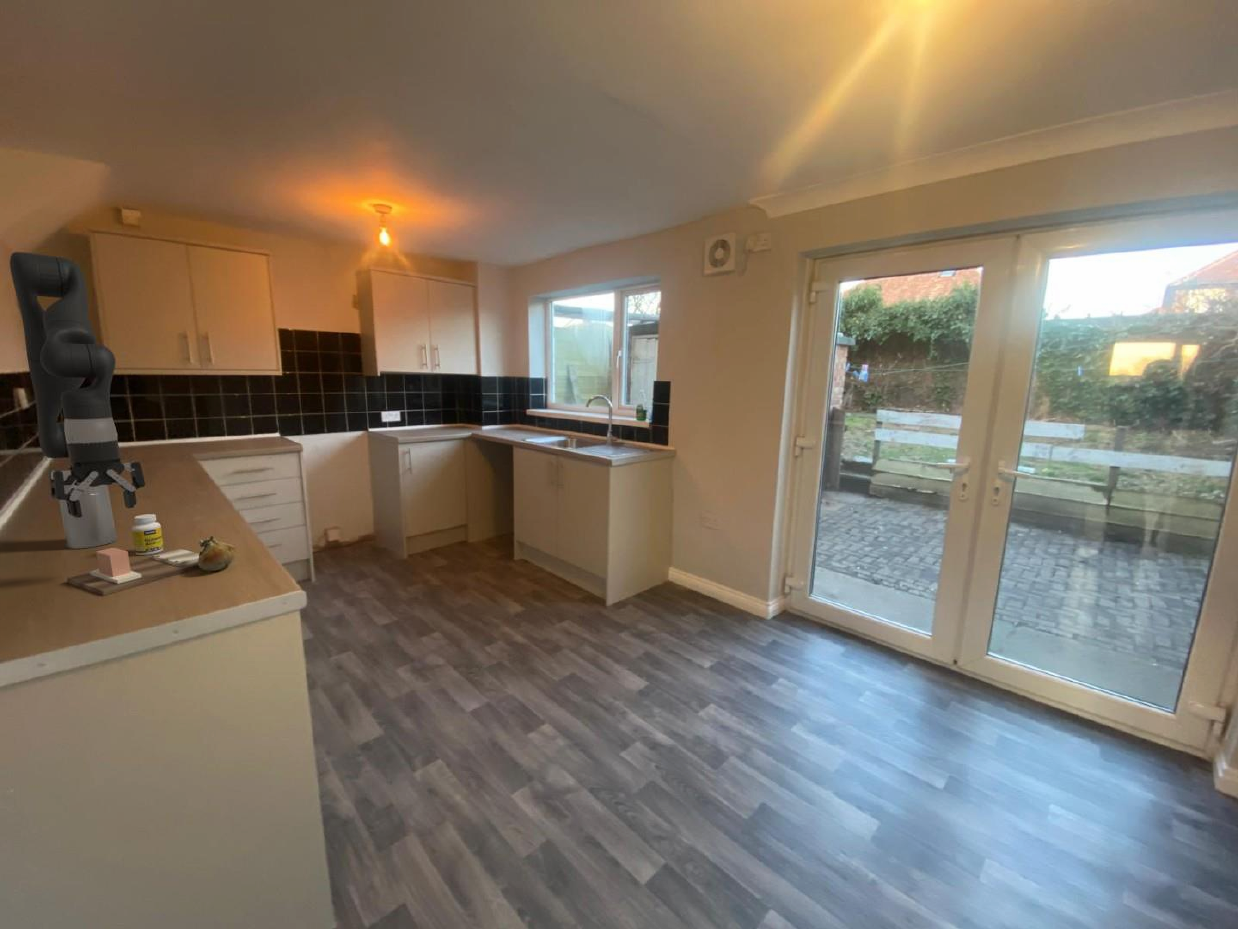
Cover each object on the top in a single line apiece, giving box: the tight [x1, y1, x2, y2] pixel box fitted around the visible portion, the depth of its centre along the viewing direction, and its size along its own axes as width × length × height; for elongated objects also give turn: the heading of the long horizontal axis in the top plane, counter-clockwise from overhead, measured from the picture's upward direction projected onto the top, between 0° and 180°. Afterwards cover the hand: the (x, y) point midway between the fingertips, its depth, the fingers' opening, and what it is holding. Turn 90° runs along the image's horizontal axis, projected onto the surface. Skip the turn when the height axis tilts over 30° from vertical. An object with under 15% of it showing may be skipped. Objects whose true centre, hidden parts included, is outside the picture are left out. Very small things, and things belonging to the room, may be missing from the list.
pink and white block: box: [89, 547, 141, 584], centre depth 110 cm, size 12×4×6 cm, turn 67°
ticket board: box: [66, 548, 201, 596], centre depth 115 cm, size 16×20×2 cm
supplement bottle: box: [131, 513, 165, 556], centre depth 128 cm, size 5×5×10 cm
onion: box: [198, 535, 237, 572], centre depth 117 cm, size 8×8×8 cm
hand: (104, 512), depth 108 cm, fingers open, 8 cm apart
